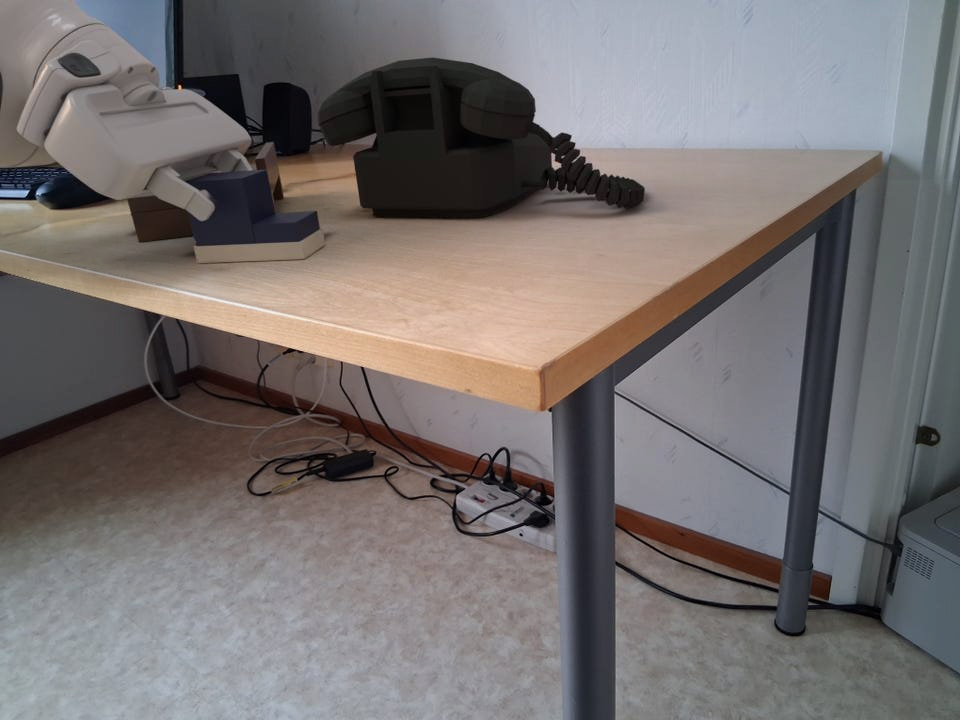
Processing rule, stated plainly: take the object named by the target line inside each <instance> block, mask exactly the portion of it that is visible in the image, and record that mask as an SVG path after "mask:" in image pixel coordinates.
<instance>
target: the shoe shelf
mask: <svg viewBox="0 0 960 720" xmlns="http://www.w3.org/2000/svg"><path fill="white" fill-rule="evenodd" d="M249 165H250V166H251V168H252V170H267V173H268V178H269V183H270V188H271V193H272V198H273V204H274V209H275V213H277V208H276V205H275V201H276V200H284V197H285V195H284V189H283V185H282V178H281V174H280V168H279V163H278V157H277V152H276V147H275V142H274V141H270V142H269V141H268V142H265V143H264V145H263V147H262V148H261V149H260V150H259V152H258V154H257V155H256V156H255V158H254V164H249ZM220 172H221V171H220V170H218V171H215V172H212V173H220ZM208 174H209V173H208ZM198 177H199V176H198ZM185 181H186V180H185ZM126 200H127V204H128V207H129V211H130V215H131V219H132V223H133V226H134V230H135V233H136V237H137V241H138V243H145V242H153V241H161V240H168V239H169V240H171V239H178V238H185V237H194V235H193V231H192V227H191V223H190V219H189V215H188V211H187V210H186V209H183V208H180V207H178V206H176V205H173V204H171V203H168V202H166V201H164V200H161V199H159V198H158V197H157V196H155V195H154V194H153V193H152V192H151V191H149V192H146V193H142V194H139V195H136V196H132V197H129V198H126Z"/></svg>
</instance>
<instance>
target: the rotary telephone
mask: <svg viewBox="0 0 960 720" xmlns="http://www.w3.org/2000/svg"><path fill="white" fill-rule="evenodd" d="M536 112H537V110H536V98H535V97H534V95H533V94H532V93H531V91H530V90H529V89H528V88H527V87H526V86H524V85H523V84H521V83H520V82H519V81H516V80H513V79H512V78H510V77H508V76H507V75H504V74H503V73H502V72H500V71H496V70H494V69H491V68H489V67H485V66H482V65H479V64H476V63H474V62H467V61H460V60H453V59H448V58H447V59H446V58H441V57H434V56H433V57H421V58H414V59H401V60H397V61H394V62H391V63H388V64H386V65H385V64H384V65H381V66H380V67H376V68H374V69H371V70H368V71H365V72H364V73H362V74H360V75H358V76H357V77H355V78H354V79H351V80H350V81H348V82H346V83H345V84H344V85H342V86H341V87H339V89H337V90H336V91H335V92H333V93H332V94H330V95H329V96H328V97H326V98H325V100H324V101H323V102H322V103H321V105H320V108H319V110H318V112H317V123H318V127H319V131H320V132H321V134H322V136H323V138H324V140H325V142H326V144H327V145H328V146H331V147H336V146H341V145H345V144H349V143H353V142H355V141H357V140H361V139H364V138H367V137H369V136H372V135H375V138H374V140H373V144H372V145H371V147H368V148H365V149H362V150H359V151H356V152H355V153H354V154H353V156H352V158H353V159H352V160H353V165H354V171H355V178H356V186H357V191H358V192H357V193H358V198H359V205H360V207H361V208H362V209H366V210H372V216H374V217H379V218H381V217H384V218H385V217H387V218H390V217H391V218H393V217H394V218H451V219H452V218H453V219H454V218H456V219H459V218H461V219H474V218H475V219H476V218H484V217H488V216H491V215H495V214H497V213H500V212H503V211H505V210H508V209H510V208H511V207H513V206H514V205H515V204H518V203H519V202H520V201H522V200H523V199H525V198H527V197H528V196H530V195H531V194H533V193H534V192H536V191H538V189H541V190H544V189H546V188H548V189H549V190H550V191H553V190H555V189H557V190H558V192H563V191H567V192H568V193H569V194H570V193H571V194H572V193H573V192H574V191H575V192H576V193H577V194H578V195H580V194H582V193H585V194H586V195H587V196H595V199H596V200H597V202H602V201H603V202H604V201H605V202H606V204H607V205H608V207H610V206H611V207H612V206H614V205H616V207H617V208H618V209H620V208H622V207H623V208H624V209H631V208H633V207H635V206H637V205H640V204H642V203H643V202H644V199H645V191H646V188H645V187H644V186H643V185H642V184H641V183H639V182H638V181H636V180H635V179H633V178H629V177H627V178H626V177H625V176H619V175H618V174H617V175H616V176H614V175H613V174H609V176H608V174H607V173H603V174H601V171H600V169H599V168H598V169H597V168H596V169H594V167H593V162H587V157H586V156H582V155H581V149H579V148H576V141H572V137H573V135H572V134H569V133H567V132H560V133H558V134H557V135H555V136H553V135H552V134H551V133H549V131H547V130H546V129H545V128H543V127H542V126H541V125H540V124H538V123H536V122H534V119H535V116H536V114H535V113H536ZM552 154H553V155H554V162H556V163H558V164H560V167H557V168H556V169H555V168H554V167H553V159H552V158H553V157H552V156H553V155H552Z"/></svg>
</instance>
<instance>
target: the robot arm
mask: <svg viewBox="0 0 960 720" xmlns="http://www.w3.org/2000/svg"><path fill="white" fill-rule="evenodd" d="M160 79H161V78H160V73H159V70H158V68H157V67H156V66H155V64H153V63H152V62H151V61H150V60H148V59H147V58H146V57H145V56H144V55H143V54H141V53H140V52H139V51H138V50H137V49H135V47H134V46H133V45H131V44H130V43H129V42H127V41H126V40H125V39H124V38H123V37H122V36H120V35H119V34H118V33H117V32H116V31H114V30H113V29H112V28H111V27H110V26H109V25H107V24H106V23H105V22H103V21H101V20H99V19H97V18H95V17H93V16H91V15H89V14H88V13H86V12H85V11H83V9H82V8H81V7H80V6H79V4H77V2H76V1H75V0H0V169H8V168H9V169H13V168H21V167H23V168H24V167H39V168H56V169H57V168H60V169H65V170H66V171H68V172H69V173H70V174H71V175H73V176H74V177H75V178H76V179H78V180H79V181H80V182H82V183H83V184H85V185H86V186H87V187H88V188H90V189H91V190H93V191H94V192H96V193H98V194H100V195H102V196H105V197H108V198H109V199H113V200H117V201H121V200H127V198H129V197H132V196H136V195H139V194H142V193H146V192H149V191H151V192H152V193H153V194H154V195H155V196H157V197H158V198H159V199H161V200H164V201H166V202H168V203H171V204H173V205H176V206H178V207H180V208H183V209H186V210H187V211H188V212H190V213H191V214H192V215H193V216H195V217H196V218H197V219H198V220H200V221H205V220H207V219H210V218H212V217H214V216H215V214H216V212H217V211H218V210H219V208H220V202H219V201H218V200H217V199H216V198H214V197H212V195H211V194H210V193H209V192H208V191H206V190H201V191H199V190H198V189H196V188H194V187H193V186H191V185H189V184H188V183H186V182H184V181H185V180H189V179H192V178H195V177H198V176H202V175H205V174H208V173H212V172H215V171H218V170H220V171H221V172H236V171H251V170H252V168H251V166H250V165H251V164H250V163H249V161H248V159H247V158H246V156H244V155H245V154H246V152H247V151H248V149H249V147H250V146H251V144H252V138H251V135H250V134H249V133H248V131H247V130H246V129H245V128H244V127H243V126H242V125H241V124H239V122H237V121H236V120H234V119H233V118H232V117H231V116H229V115H228V114H227V113H225V112H224V111H223V110H221V108H219V107H217V106H216V105H215V104H214V103H212V102H211V101H209V99H206V98H205V97H203V96H202V95H200V94H199V93H197V92H195V91H193V90H190V89H185V88H178V89H174V88H173V87H170V86H166V85H165V86H161V87H160Z"/></svg>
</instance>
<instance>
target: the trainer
mask: <svg viewBox="0 0 960 720" xmlns="http://www.w3.org/2000/svg"><path fill="white" fill-rule="evenodd" d="M184 182H186V183H188V184H189V185H191V186H193V187H194V188H196V189H198V190H199V191H201V190H206V191H208V192H209V193H210V194H211V195H212V197H214V198H216V199H217V200H218V201H219V202H220V208H219V210H218V211H217V212H216V214H215V216H214V217H212V218H210V219H207V220H205V221H200V220H198V219H197V218H196V217H195V216H193V215H192V214H191V213H190V212H188V215H189V219H190V223H191V227H192V231H193V235H194V236H193V240H194V244H195V245H194V246H193V251H194V254H195V258H196V263H197V264H214V263H215V264H216V263H218V264H219V263H240V262H266V261H267V262H268V261H269V262H270V261H290V260H291V261H292V260H294V261H295V260H296V261H297V260H305V259H307V258H309V257H310V256H311V255H312V254H314V253H316V252H317V251H318V250H320V249H321V248H322V247H324V246H325V245H326V241H325V233H324V229H323V228H320V222H319V221H320V220H319V215H318V211H317V210H307V211H305V210H304V211H288V212H287V211H286V212H276V213H275V209H276V208H275V209H274V204H273V198H272V193H271V188H270V183H269V178H268V173H267V170H251V171H236V172H220V173H209V174H205V175H202V176H199V177H195V178H192V179H189V180H186V181H184Z"/></svg>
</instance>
